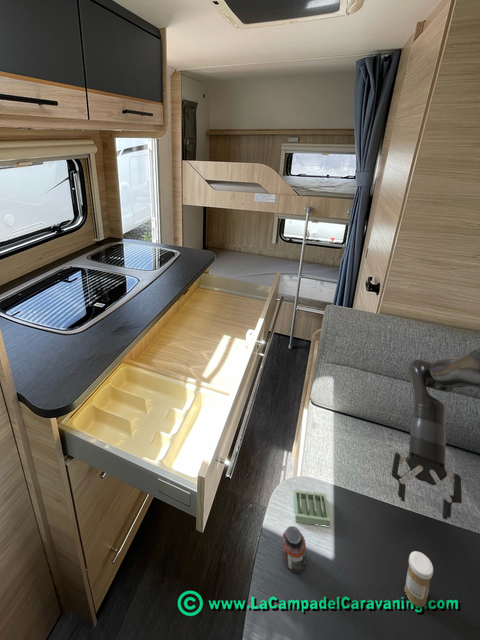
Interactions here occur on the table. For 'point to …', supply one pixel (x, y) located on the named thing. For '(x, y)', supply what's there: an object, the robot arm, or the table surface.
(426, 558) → the sprinkles bottle
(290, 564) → the supplement bottle
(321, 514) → the drainer rack
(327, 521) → the drainer
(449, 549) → the table surface
